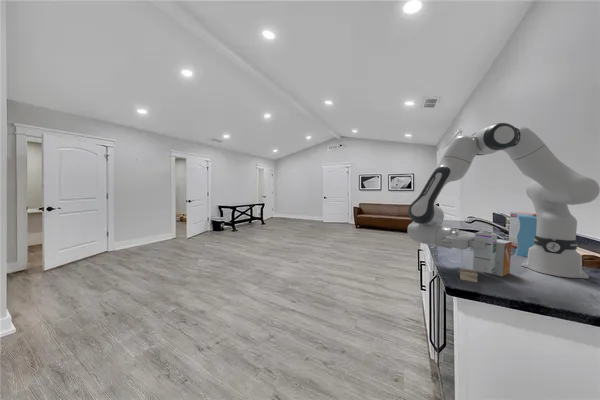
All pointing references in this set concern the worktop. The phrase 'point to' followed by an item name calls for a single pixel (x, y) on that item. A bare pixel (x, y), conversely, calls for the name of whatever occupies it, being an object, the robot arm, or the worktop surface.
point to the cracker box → (516, 225)
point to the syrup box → (485, 252)
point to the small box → (502, 258)
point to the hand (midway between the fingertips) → (488, 244)
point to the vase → (526, 234)
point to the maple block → (468, 275)
